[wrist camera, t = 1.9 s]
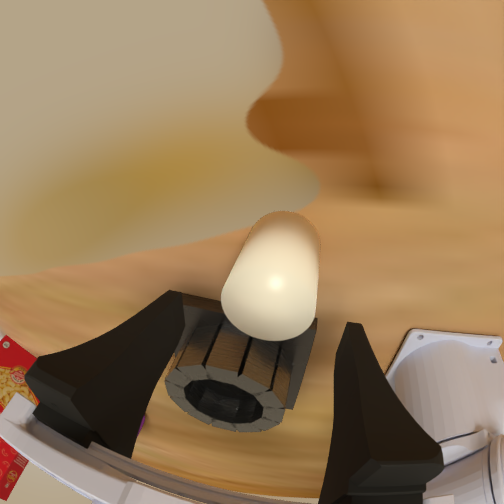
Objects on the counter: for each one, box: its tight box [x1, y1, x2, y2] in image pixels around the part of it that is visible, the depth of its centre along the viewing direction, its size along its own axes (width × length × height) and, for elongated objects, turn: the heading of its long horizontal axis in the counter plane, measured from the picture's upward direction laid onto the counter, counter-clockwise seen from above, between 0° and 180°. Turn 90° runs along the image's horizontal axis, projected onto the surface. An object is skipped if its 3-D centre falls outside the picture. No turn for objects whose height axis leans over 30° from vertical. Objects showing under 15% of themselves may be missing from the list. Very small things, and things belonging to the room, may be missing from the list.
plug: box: [221, 211, 321, 341], centre depth 17 cm, size 4×4×6 cm
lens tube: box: [165, 293, 317, 432], centre depth 23 cm, size 11×11×5 cm
